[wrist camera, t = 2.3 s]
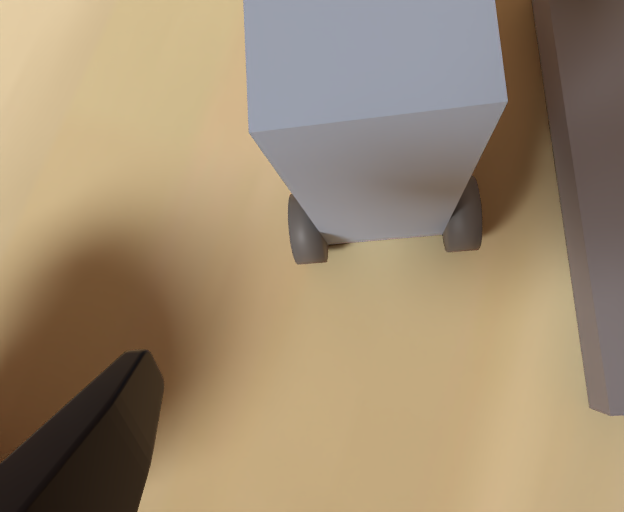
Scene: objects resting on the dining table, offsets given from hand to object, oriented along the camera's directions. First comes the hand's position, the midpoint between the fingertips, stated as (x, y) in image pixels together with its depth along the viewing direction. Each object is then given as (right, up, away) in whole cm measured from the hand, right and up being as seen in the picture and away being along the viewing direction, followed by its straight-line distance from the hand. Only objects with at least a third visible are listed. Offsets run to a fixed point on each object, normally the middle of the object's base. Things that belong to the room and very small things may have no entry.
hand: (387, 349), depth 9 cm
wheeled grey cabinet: (+2, +5, +14) cm, 15 cm away
